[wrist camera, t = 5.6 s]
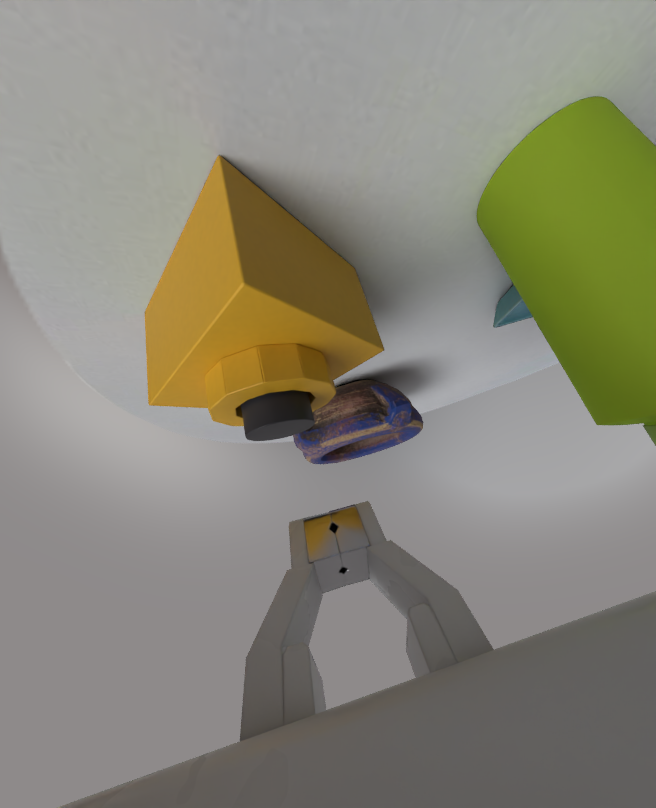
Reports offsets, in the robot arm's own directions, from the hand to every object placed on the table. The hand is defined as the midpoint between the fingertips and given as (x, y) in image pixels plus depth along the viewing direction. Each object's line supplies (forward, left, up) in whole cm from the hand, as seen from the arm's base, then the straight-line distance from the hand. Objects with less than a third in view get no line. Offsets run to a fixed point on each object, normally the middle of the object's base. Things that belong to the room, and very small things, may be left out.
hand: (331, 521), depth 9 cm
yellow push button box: (+3, +1, -14) cm, 14 cm away
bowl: (+13, +24, -14) cm, 31 cm away
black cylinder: (+3, +1, -6) cm, 7 cm away
